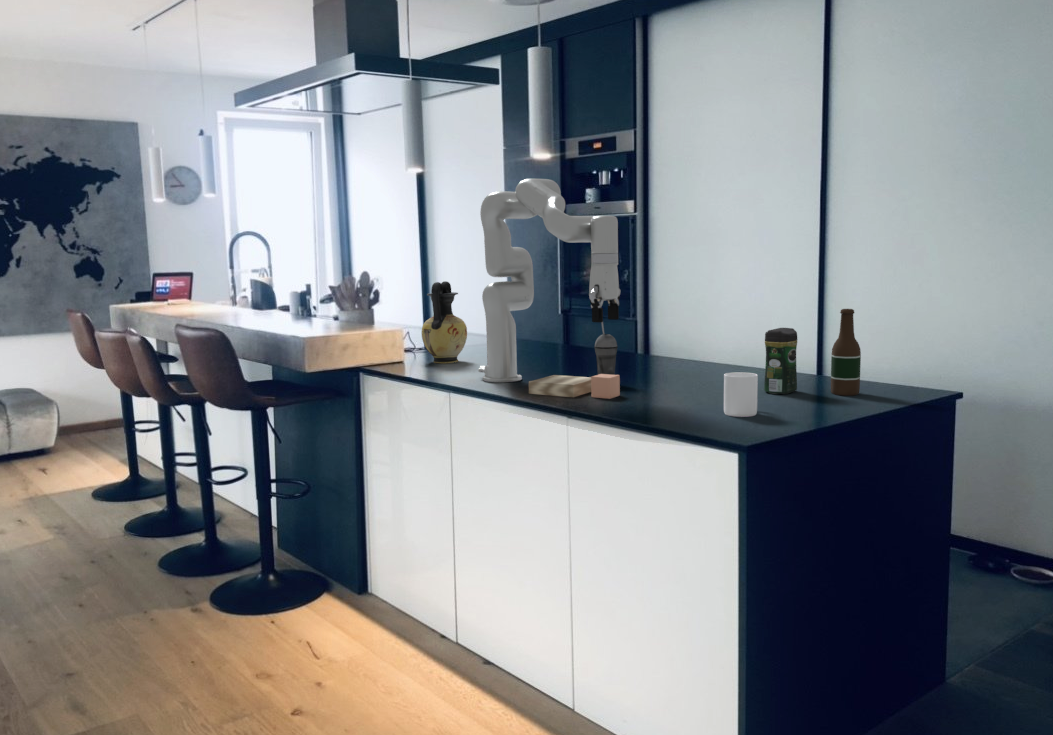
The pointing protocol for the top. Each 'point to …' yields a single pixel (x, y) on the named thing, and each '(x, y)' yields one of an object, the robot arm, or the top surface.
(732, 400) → the cup
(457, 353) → the amphora
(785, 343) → the coffee jar
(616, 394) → the terracotta cube
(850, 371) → the beer bottle
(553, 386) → the maple block
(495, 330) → the robot arm
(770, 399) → the top surface
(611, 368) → the beverage cup
